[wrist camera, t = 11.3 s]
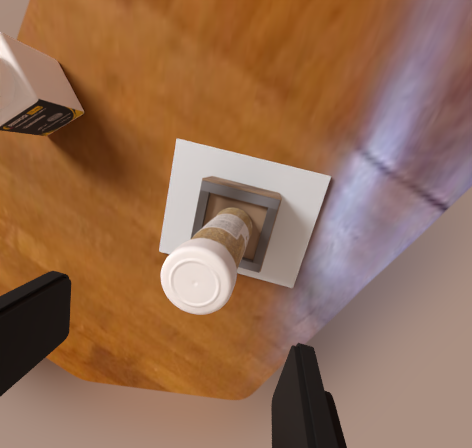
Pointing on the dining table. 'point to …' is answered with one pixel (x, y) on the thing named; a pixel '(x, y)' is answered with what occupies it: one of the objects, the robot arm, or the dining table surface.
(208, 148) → the white rectangular board
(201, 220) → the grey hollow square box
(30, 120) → the medicine bottle
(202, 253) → the sprinkles bottle
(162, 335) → the dining table surface
